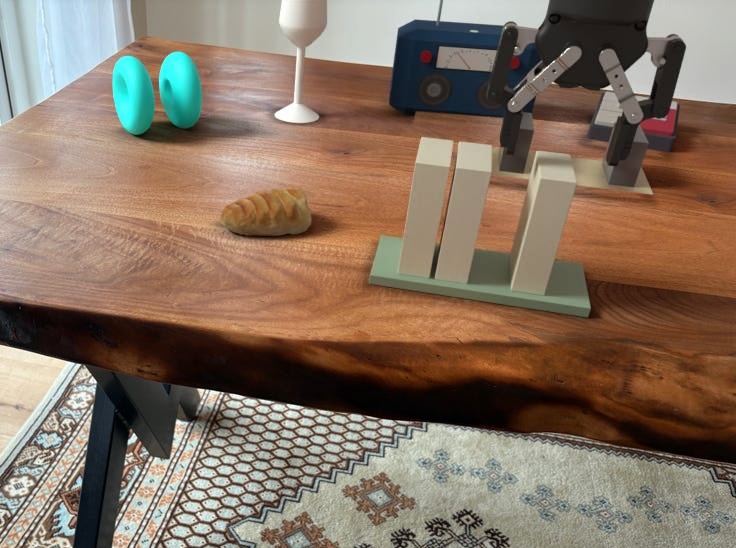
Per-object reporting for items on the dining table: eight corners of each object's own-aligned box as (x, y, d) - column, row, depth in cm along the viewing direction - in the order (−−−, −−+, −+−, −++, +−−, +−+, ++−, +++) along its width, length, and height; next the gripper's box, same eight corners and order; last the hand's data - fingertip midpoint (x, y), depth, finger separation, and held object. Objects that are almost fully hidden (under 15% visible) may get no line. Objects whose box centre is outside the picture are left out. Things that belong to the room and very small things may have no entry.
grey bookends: (638, 172, 100) (655, 122, 96) (650, 202, 92) (669, 149, 88) (481, 153, 104) (491, 105, 100) (480, 180, 96) (491, 129, 92)
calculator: (591, 119, 106) (603, 86, 117) (583, 148, 108) (595, 114, 119) (678, 133, 102) (682, 98, 113) (667, 163, 105) (672, 127, 116)
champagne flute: (295, 105, 118) (306, -73, 104) (328, 116, 114) (345, -67, 100) (265, 114, 114) (272, -70, 100) (298, 126, 110) (311, -64, 96)
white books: (579, 272, 77) (616, 155, 70) (588, 317, 70) (629, 193, 63) (379, 243, 80) (396, 130, 74) (368, 284, 73) (385, 162, 66)
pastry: (232, 244, 79) (233, 210, 77) (211, 218, 84) (211, 185, 82) (315, 233, 82) (318, 199, 80) (290, 208, 87) (292, 176, 85)
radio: (388, 116, 115) (408, -32, 104) (388, 99, 123) (407, -41, 111) (530, 128, 113) (567, -22, 102) (522, 110, 120) (555, -32, 109)
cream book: (540, 261, 76) (570, 154, 70) (544, 296, 71) (577, 182, 64) (509, 257, 77) (536, 150, 70) (510, 291, 71) (540, 177, 65)
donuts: (205, 136, 105) (205, 60, 100) (136, 145, 101) (132, 67, 96) (178, 115, 113) (176, 43, 107) (112, 123, 109) (107, 48, 103)
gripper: (517, -51, 56) (475, 163, 65) (729, -39, 53) (654, 183, 63) (515, -64, 62) (477, 135, 71) (706, -53, 59) (640, 152, 69)
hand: (559, 157), depth 67 cm, fingers open, 8 cm apart
